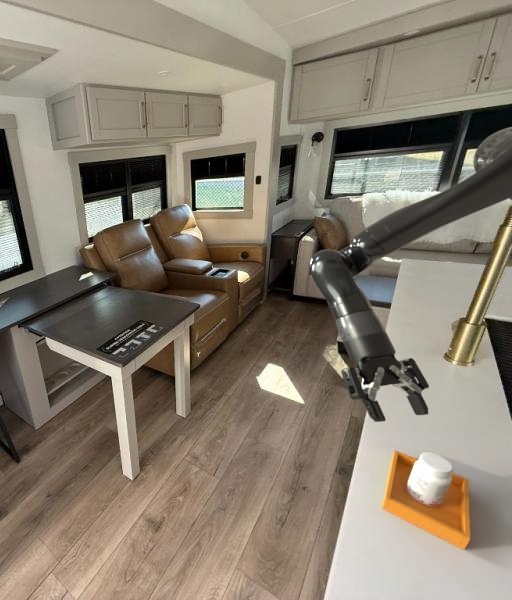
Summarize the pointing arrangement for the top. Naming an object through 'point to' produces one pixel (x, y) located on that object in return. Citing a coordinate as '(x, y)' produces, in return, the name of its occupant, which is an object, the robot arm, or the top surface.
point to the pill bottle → (430, 479)
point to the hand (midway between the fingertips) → (401, 418)
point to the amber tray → (437, 520)
